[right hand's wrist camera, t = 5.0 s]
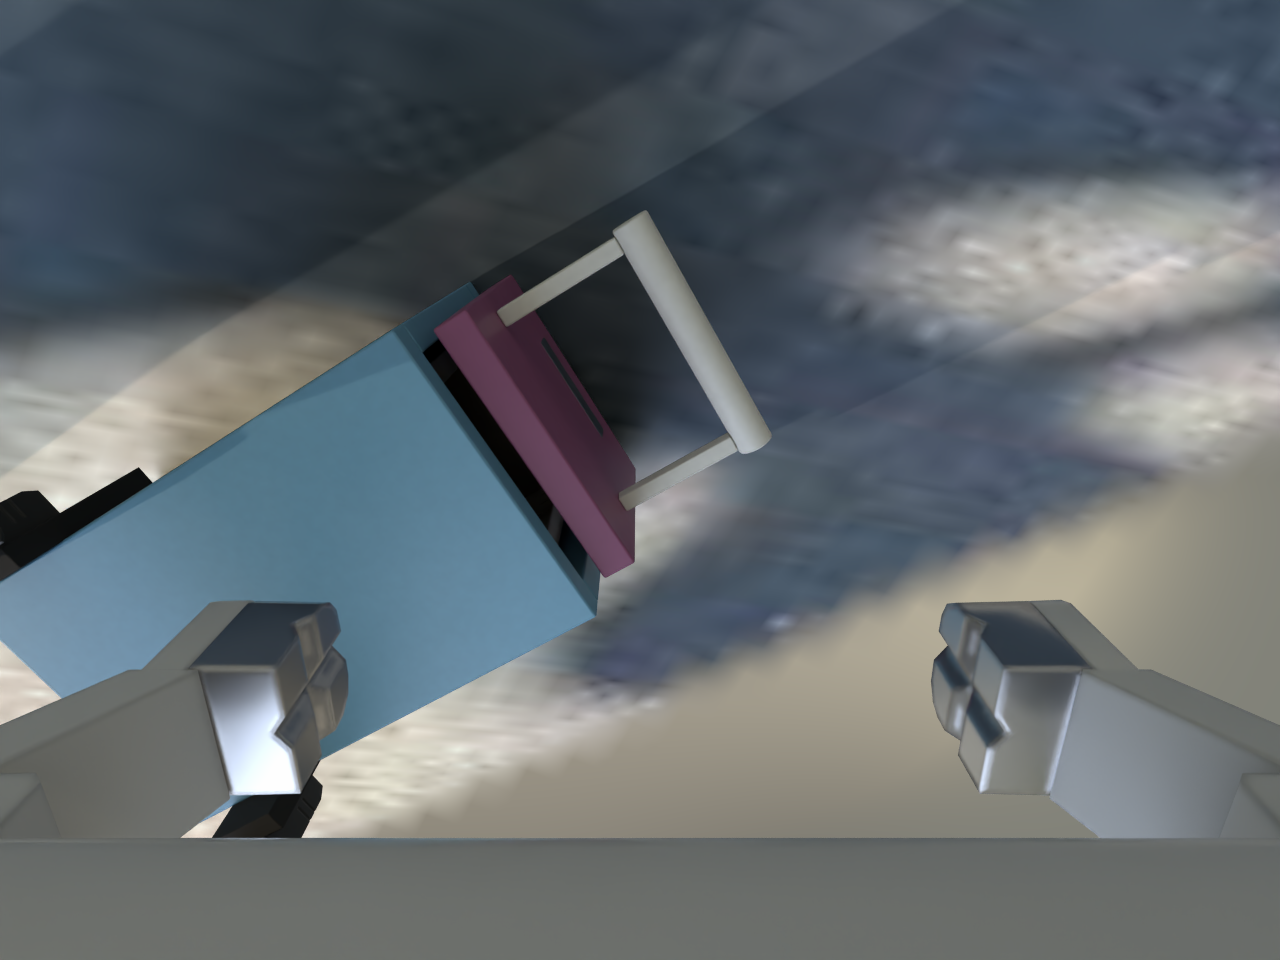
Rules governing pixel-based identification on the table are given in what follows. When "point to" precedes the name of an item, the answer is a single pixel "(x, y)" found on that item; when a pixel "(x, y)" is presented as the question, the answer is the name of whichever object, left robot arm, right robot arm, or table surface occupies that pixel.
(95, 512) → the left robot arm
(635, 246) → the drawer
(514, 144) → the table surface
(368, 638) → the cabinet
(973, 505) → the table surface
